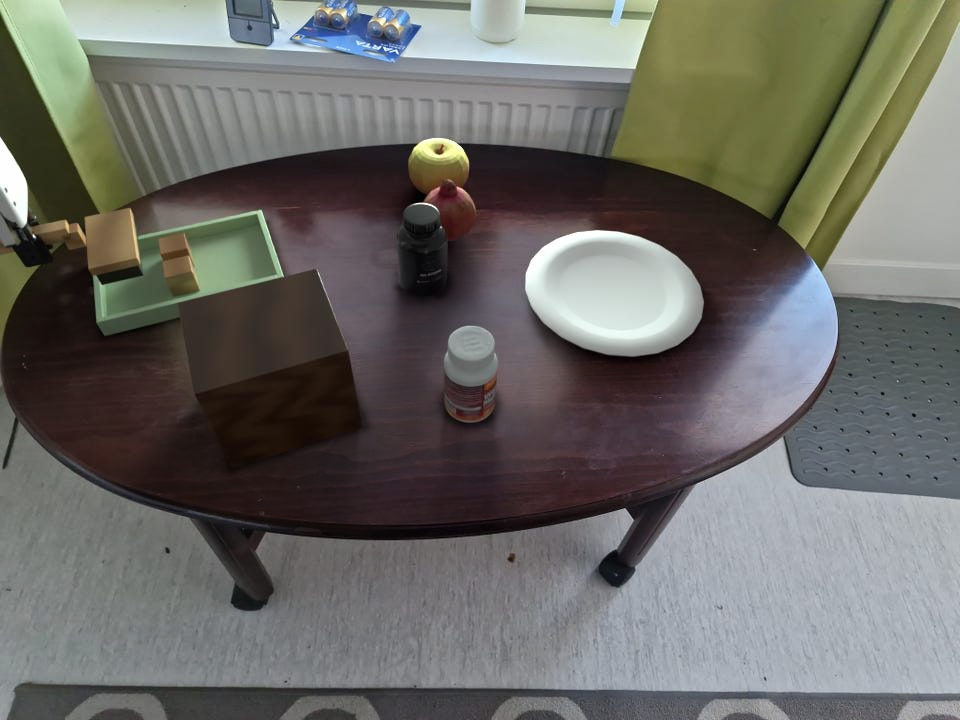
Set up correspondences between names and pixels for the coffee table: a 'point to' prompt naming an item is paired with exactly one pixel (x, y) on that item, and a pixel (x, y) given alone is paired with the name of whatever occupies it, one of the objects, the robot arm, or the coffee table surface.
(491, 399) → the pill bottle
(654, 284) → the plate
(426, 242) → the supplement bottle
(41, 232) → the brush
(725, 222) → the coffee table surface
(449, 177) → the apple
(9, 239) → the robot arm
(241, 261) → the tray
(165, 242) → the brown cube
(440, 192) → the fruit
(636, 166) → the coffee table surface
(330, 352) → the stand
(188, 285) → the cork block
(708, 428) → the coffee table surface
